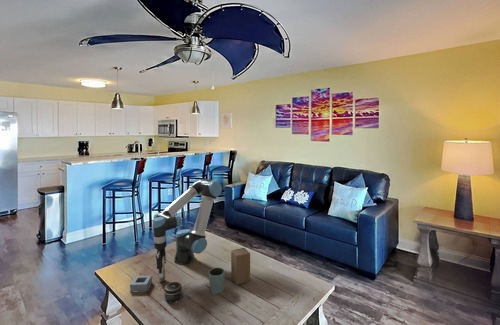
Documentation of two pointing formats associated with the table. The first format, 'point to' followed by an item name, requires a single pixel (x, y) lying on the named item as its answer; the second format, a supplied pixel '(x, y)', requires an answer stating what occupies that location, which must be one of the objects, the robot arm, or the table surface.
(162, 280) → the peg
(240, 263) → the wooden block
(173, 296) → the jar
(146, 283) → the socket
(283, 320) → the table surface
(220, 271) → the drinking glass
